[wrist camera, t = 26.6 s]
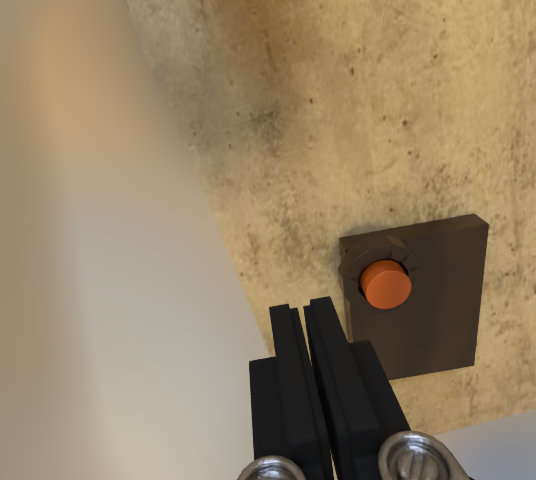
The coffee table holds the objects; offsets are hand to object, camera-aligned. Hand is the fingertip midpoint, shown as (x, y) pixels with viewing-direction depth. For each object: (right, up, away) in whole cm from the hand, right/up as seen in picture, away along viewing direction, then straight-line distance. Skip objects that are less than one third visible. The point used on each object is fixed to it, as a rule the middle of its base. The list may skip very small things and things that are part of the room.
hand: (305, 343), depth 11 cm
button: (+8, 0, +21) cm, 23 cm away
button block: (+12, -3, +27) cm, 30 cm away
